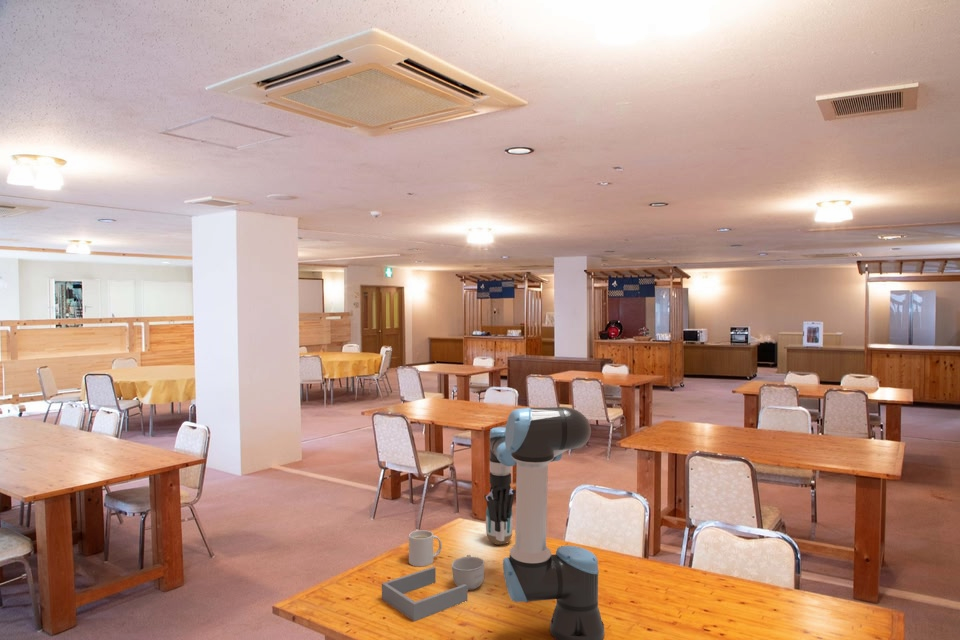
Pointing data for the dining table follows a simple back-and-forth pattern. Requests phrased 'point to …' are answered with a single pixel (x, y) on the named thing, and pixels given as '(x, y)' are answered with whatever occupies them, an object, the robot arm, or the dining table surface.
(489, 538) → the vase
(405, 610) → the box
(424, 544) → the mug
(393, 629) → the dining table surface
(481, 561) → the teacup
